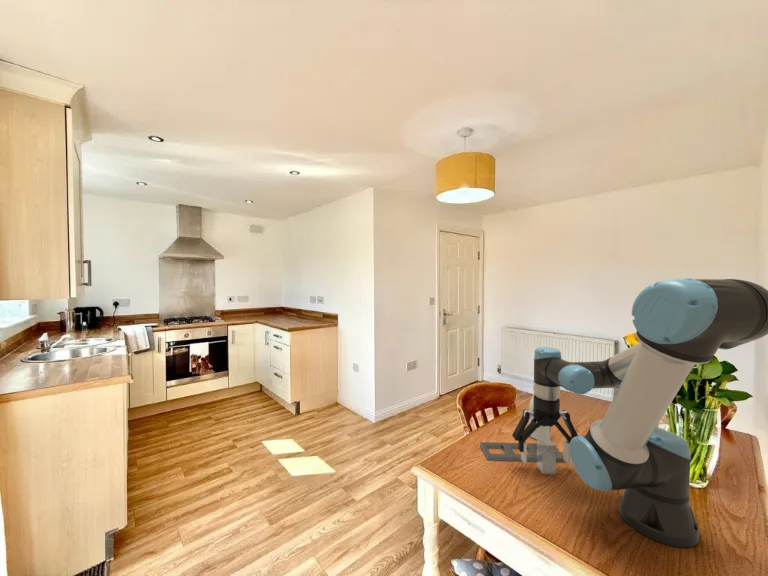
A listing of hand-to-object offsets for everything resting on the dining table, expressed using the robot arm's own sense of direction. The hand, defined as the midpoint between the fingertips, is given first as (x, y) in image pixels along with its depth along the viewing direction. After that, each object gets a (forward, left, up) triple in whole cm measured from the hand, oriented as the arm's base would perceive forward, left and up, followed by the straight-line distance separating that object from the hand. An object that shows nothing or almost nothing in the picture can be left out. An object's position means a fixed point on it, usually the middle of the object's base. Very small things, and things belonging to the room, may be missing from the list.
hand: (545, 461), depth 103 cm
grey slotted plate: (+10, +4, -2) cm, 11 cm away
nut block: (0, 0, -3) cm, 3 cm away
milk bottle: (+23, -8, -3) cm, 24 cm away
